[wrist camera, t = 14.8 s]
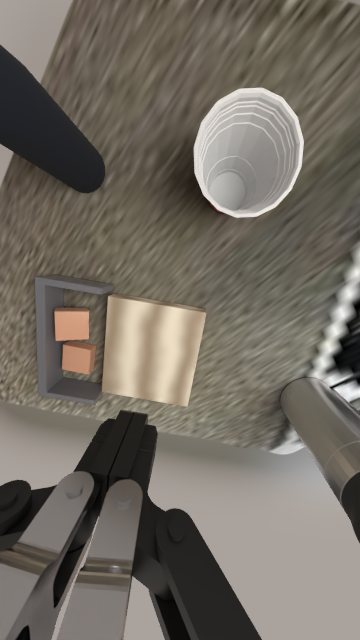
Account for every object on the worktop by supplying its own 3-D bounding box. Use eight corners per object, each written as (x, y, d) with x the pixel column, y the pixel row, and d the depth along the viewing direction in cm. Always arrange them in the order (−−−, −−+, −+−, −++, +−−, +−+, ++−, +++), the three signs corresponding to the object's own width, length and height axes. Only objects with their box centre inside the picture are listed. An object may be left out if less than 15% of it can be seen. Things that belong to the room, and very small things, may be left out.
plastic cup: (255, 236, 33) (289, 224, 22) (187, 226, 33) (185, 209, 22) (273, 156, 30) (324, 92, 19) (198, 145, 30) (203, 75, 19)
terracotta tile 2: (62, 344, 38) (70, 339, 40) (62, 369, 39) (69, 363, 41) (90, 350, 38) (96, 344, 40) (88, 374, 39) (94, 368, 41)
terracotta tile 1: (54, 311, 33) (55, 307, 35) (55, 340, 35) (56, 335, 37) (88, 311, 36) (87, 307, 38) (88, 338, 37) (87, 333, 39)
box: (113, 284, 36) (101, 288, 32) (105, 389, 42) (94, 405, 37) (55, 274, 36) (34, 276, 32) (55, 380, 42) (38, 395, 37)
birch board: (205, 308, 37) (206, 312, 34) (187, 396, 42) (187, 406, 39) (114, 293, 37) (108, 296, 34) (107, 382, 42) (101, 391, 39)
